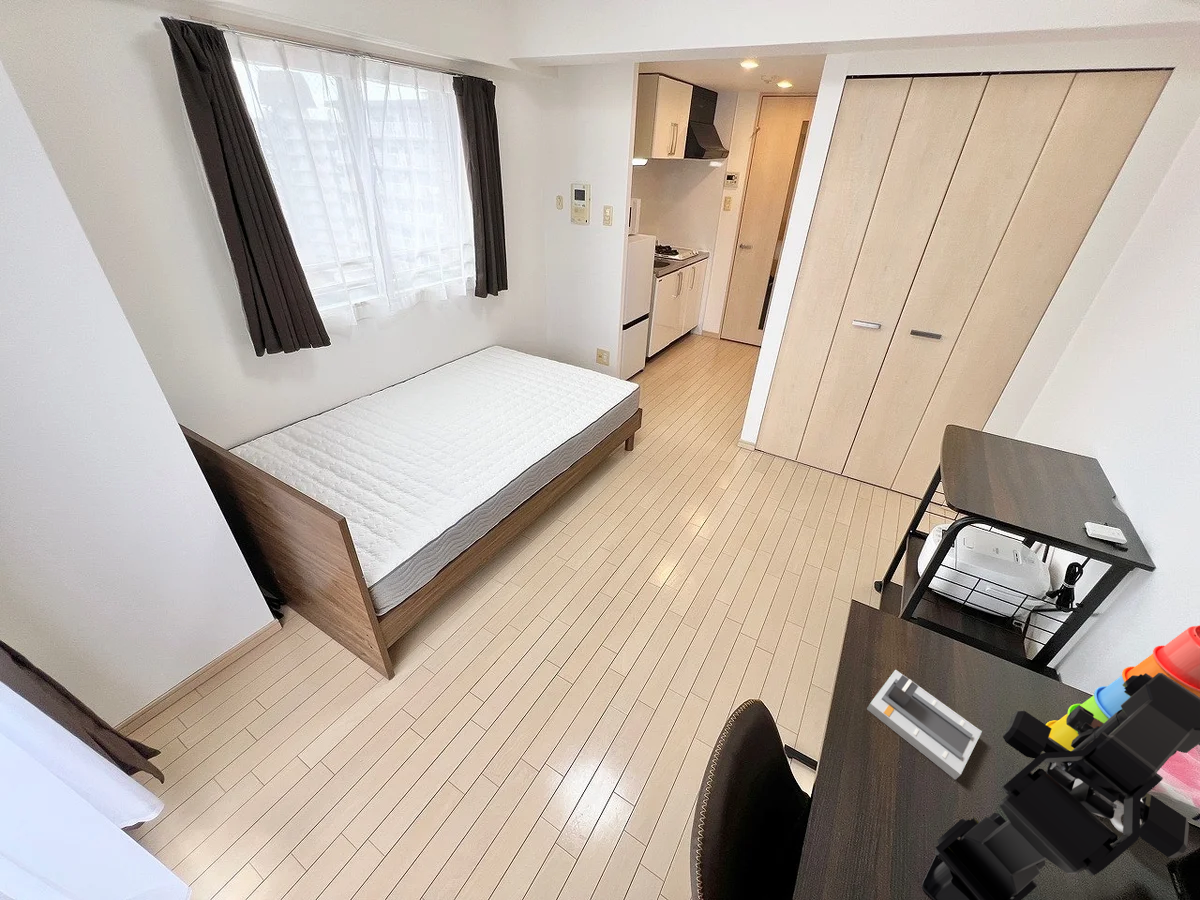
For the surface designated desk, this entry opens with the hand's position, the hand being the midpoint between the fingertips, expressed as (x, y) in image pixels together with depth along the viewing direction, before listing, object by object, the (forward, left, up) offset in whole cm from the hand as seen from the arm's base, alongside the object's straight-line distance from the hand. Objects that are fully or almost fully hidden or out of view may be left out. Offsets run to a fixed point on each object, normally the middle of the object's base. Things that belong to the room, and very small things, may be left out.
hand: (1054, 803), depth 72 cm
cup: (+17, -8, -12) cm, 22 cm away
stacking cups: (+27, -4, -12) cm, 30 cm away
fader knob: (+8, +22, -10) cm, 25 cm away
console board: (+8, +17, -12) cm, 22 cm away
